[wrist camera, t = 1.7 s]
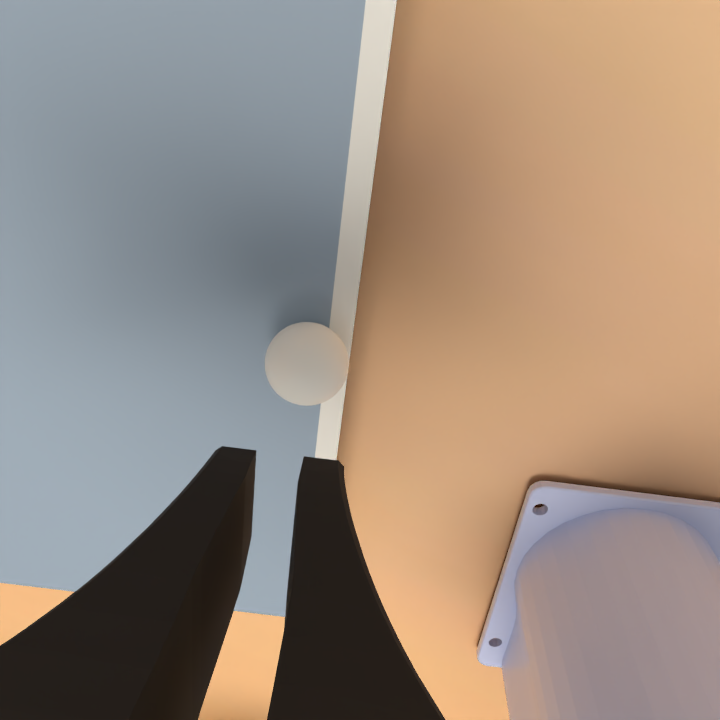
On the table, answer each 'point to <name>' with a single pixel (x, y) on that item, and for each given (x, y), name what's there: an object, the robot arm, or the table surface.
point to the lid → (176, 262)
